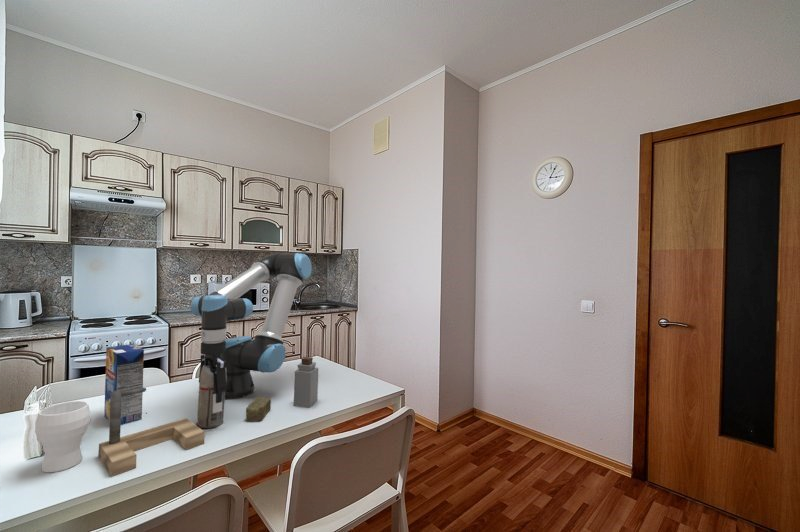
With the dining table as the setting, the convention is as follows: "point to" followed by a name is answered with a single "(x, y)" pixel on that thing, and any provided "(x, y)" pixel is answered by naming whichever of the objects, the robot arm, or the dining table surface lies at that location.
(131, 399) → the juice carton
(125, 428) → the dining table surface
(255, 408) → the stone block
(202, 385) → the spray can
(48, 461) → the cup
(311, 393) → the perfume bottle
